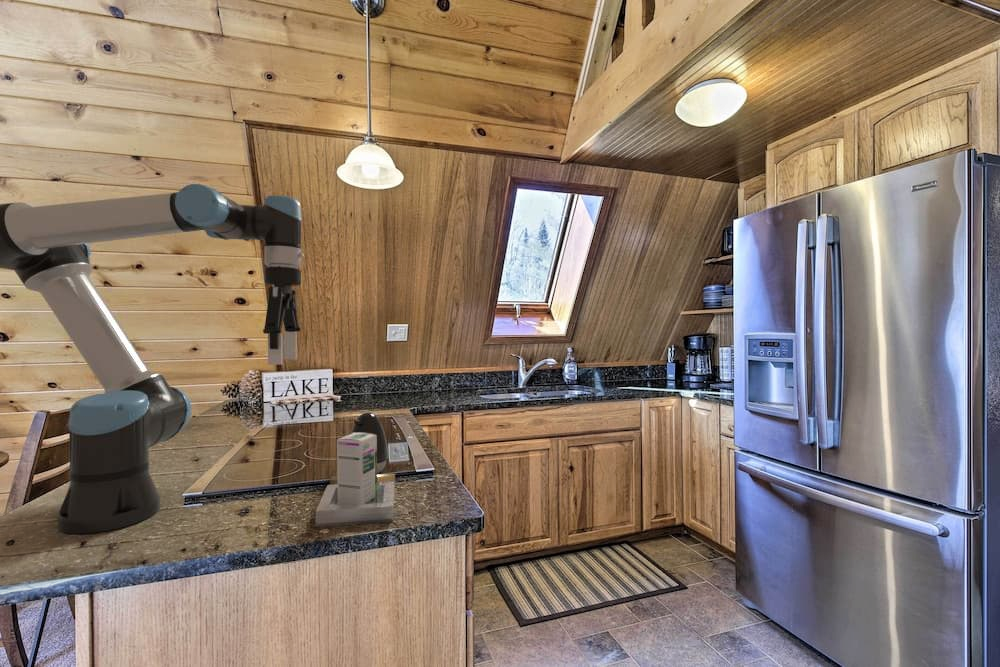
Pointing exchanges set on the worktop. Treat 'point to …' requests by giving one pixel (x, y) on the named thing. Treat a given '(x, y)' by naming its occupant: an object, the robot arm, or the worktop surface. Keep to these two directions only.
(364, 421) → the black egg shape
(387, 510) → the collar
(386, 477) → the brass rod
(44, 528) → the worktop surface
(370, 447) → the syrup box
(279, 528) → the worktop surface
